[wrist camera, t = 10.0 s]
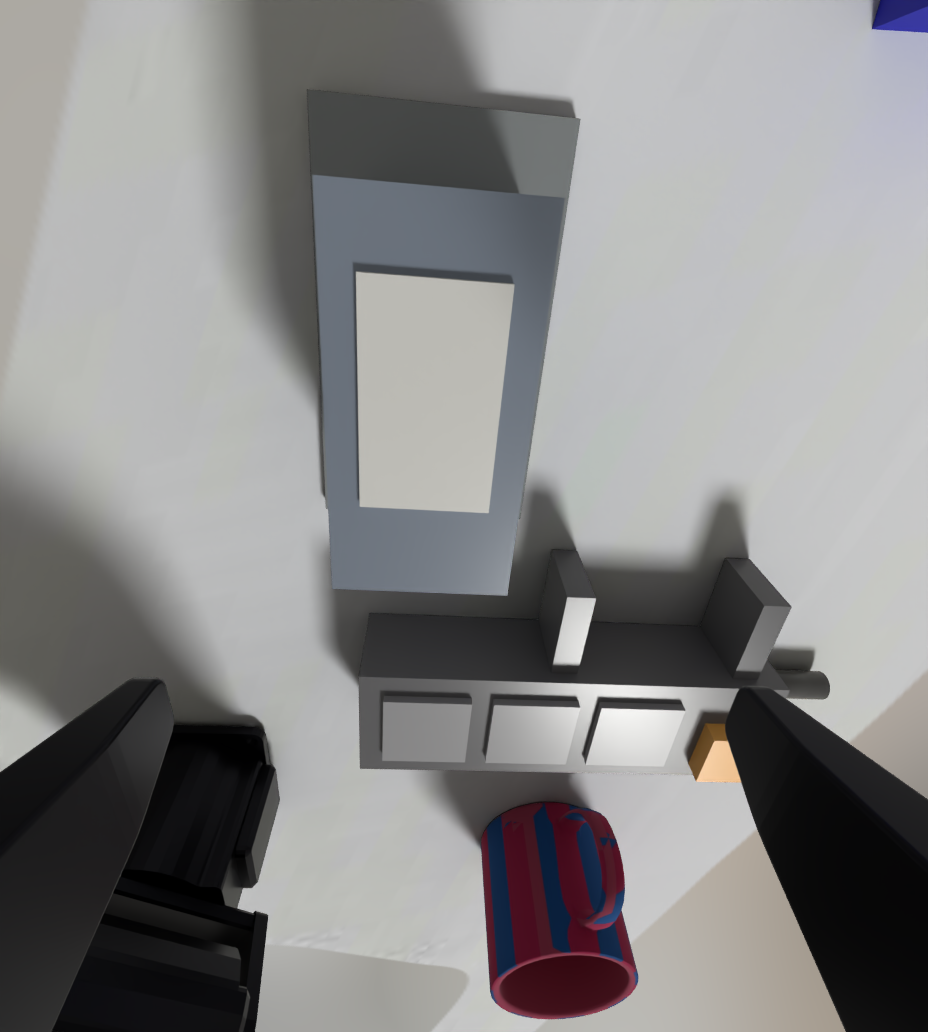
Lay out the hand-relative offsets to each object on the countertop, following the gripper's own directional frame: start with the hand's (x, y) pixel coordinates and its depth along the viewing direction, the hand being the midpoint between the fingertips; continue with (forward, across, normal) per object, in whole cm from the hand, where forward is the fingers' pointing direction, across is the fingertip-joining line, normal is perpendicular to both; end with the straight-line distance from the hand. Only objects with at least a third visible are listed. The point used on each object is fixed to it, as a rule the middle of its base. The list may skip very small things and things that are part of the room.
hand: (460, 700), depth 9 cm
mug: (+12, -7, +22) cm, 26 cm away
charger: (+11, +1, -3) cm, 12 cm away
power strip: (+12, -7, +9) cm, 16 cm away
